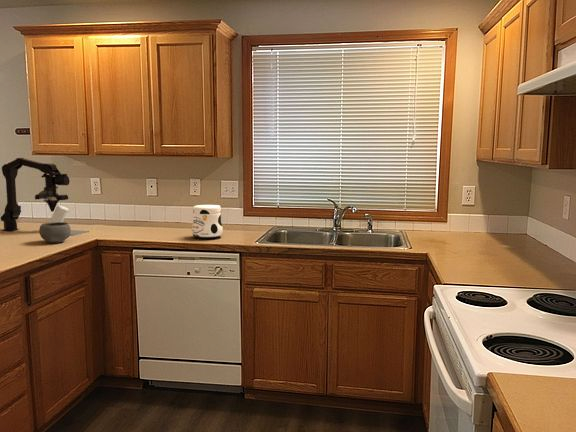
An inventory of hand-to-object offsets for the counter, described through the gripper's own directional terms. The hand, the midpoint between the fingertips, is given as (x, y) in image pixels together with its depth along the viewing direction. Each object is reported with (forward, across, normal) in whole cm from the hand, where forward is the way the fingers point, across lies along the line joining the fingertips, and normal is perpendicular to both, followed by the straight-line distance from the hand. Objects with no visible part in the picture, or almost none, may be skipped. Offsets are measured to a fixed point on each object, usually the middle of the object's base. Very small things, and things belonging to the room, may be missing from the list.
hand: (52, 211), depth 292 cm
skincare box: (+11, -1, 0) cm, 11 cm away
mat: (+12, +11, 0) cm, 16 cm away
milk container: (+13, +94, +10) cm, 95 cm away
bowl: (+12, +23, -27) cm, 37 cm away
